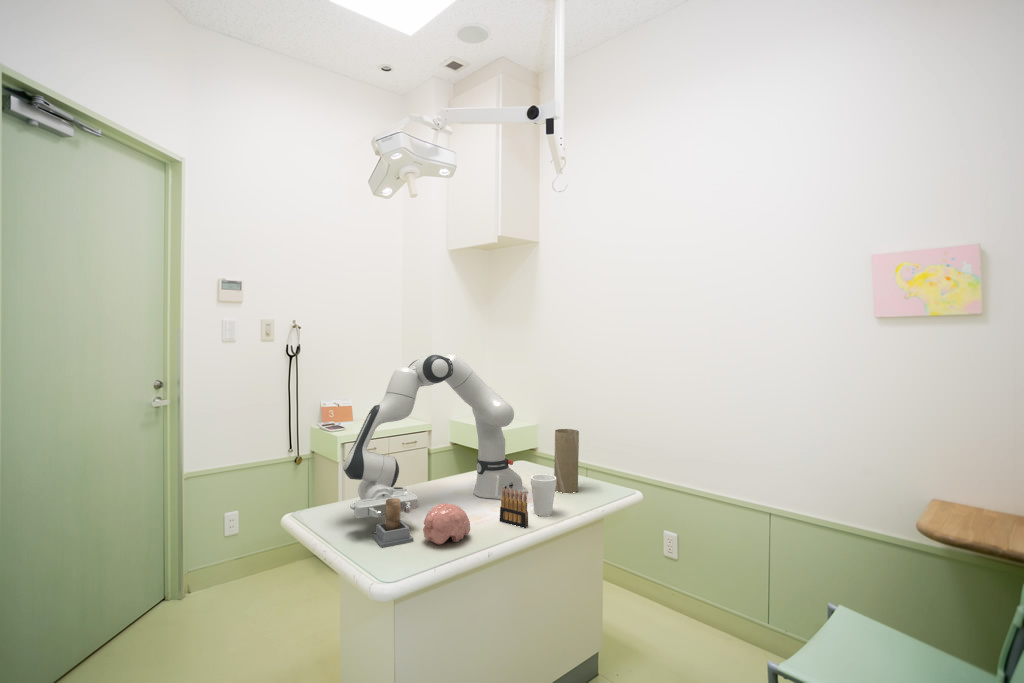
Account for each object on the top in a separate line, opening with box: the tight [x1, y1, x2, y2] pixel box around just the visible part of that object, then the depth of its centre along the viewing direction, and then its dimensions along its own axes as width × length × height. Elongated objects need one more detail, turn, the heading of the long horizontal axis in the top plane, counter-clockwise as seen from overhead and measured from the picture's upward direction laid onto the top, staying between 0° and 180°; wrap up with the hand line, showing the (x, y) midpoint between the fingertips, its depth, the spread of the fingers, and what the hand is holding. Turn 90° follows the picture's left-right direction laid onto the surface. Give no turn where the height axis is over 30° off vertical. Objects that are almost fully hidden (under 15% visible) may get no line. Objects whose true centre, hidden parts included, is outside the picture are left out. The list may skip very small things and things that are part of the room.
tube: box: [553, 428, 580, 494], centre depth 212 cm, size 10×10×25 cm
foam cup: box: [530, 473, 556, 517], centre depth 182 cm, size 10×9×13 cm
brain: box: [422, 503, 471, 545], centre depth 157 cm, size 16×13×12 cm
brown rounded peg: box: [385, 498, 401, 531], centre depth 156 cm, size 5×5×11 cm
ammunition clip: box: [499, 487, 529, 529], centre depth 171 cm, size 11×2×12 cm, turn 56°
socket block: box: [371, 519, 414, 549], centre depth 156 cm, size 10×10×4 cm
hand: (393, 512), depth 156 cm, fingers open, 8 cm apart
